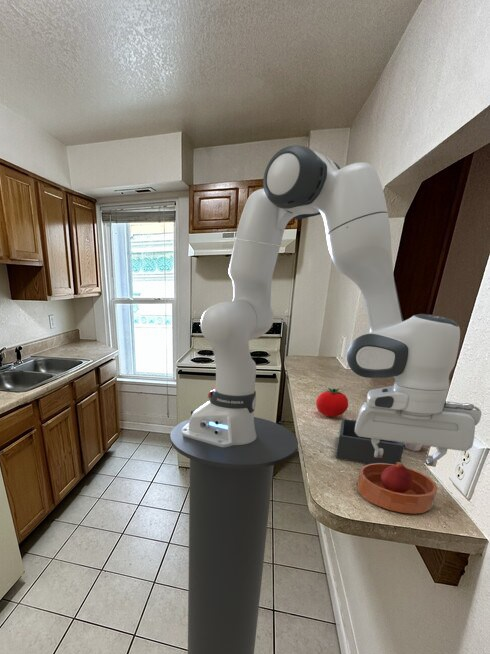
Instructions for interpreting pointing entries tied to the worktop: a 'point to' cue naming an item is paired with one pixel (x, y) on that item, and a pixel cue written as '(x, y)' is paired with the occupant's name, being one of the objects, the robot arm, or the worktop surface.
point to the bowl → (408, 502)
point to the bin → (365, 446)
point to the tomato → (332, 403)
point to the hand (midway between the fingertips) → (403, 460)
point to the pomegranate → (397, 478)
